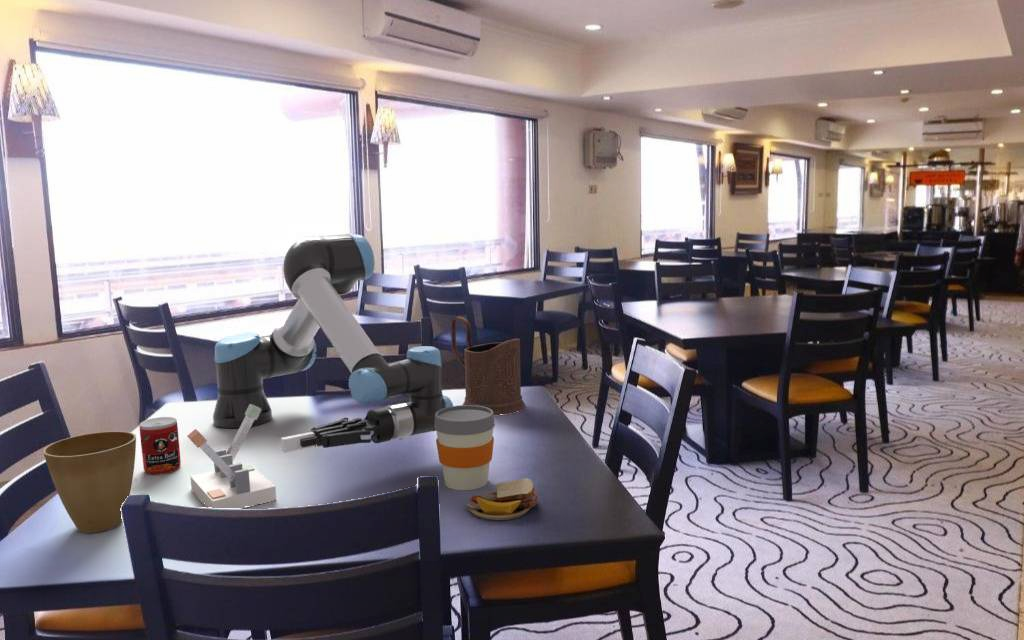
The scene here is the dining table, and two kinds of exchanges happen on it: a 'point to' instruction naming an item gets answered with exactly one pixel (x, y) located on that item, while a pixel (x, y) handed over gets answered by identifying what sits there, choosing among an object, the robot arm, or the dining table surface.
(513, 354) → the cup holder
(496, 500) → the toy sandwich meal
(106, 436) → the plant pot
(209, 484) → the console
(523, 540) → the dining table surface
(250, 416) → the lever
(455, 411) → the reusable coffee cup
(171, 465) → the canned food
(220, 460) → the lever
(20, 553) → the dining table surface
